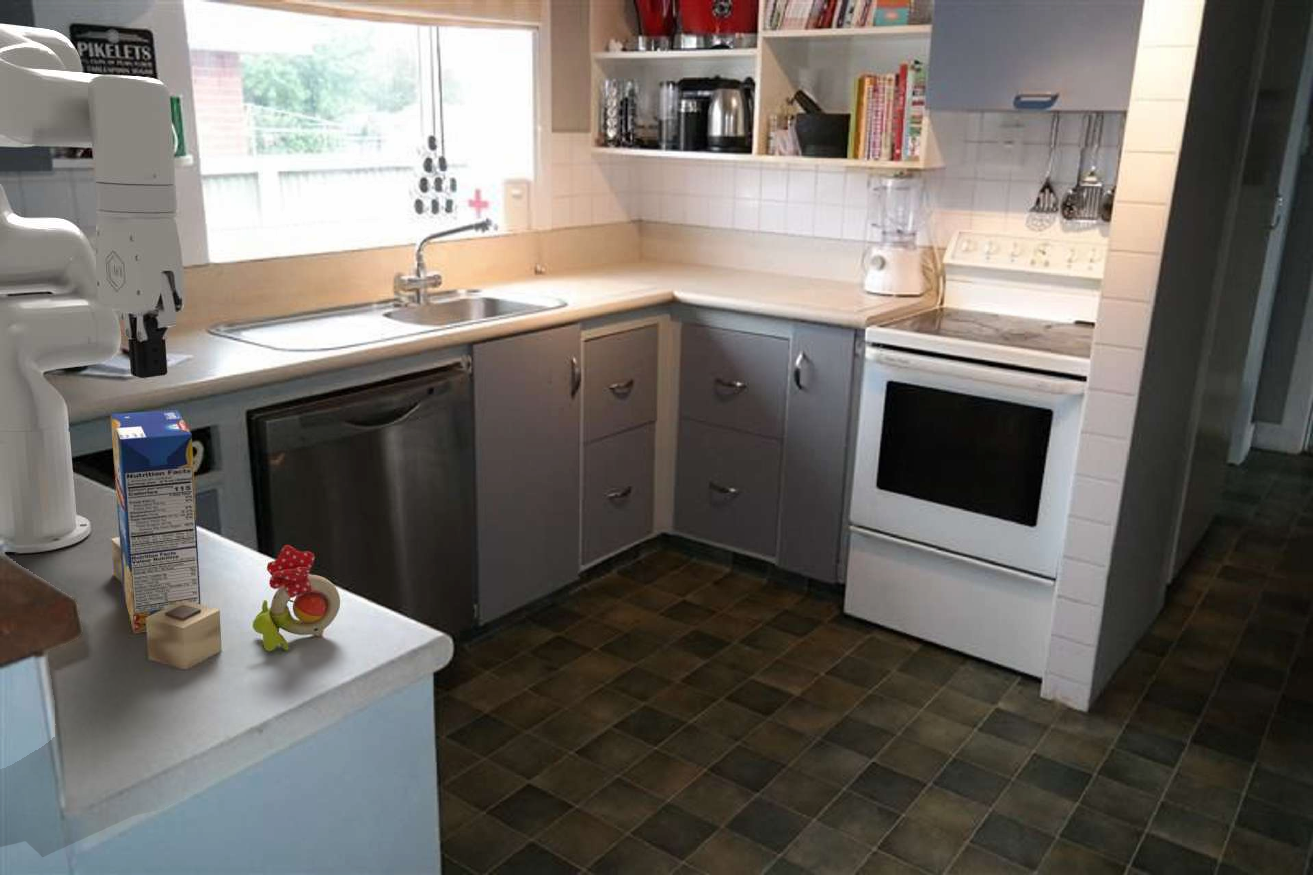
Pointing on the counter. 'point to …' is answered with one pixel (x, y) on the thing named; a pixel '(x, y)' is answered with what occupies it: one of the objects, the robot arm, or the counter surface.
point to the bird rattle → (296, 600)
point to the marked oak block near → (183, 634)
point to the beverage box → (155, 512)
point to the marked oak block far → (117, 558)
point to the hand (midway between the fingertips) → (149, 375)
